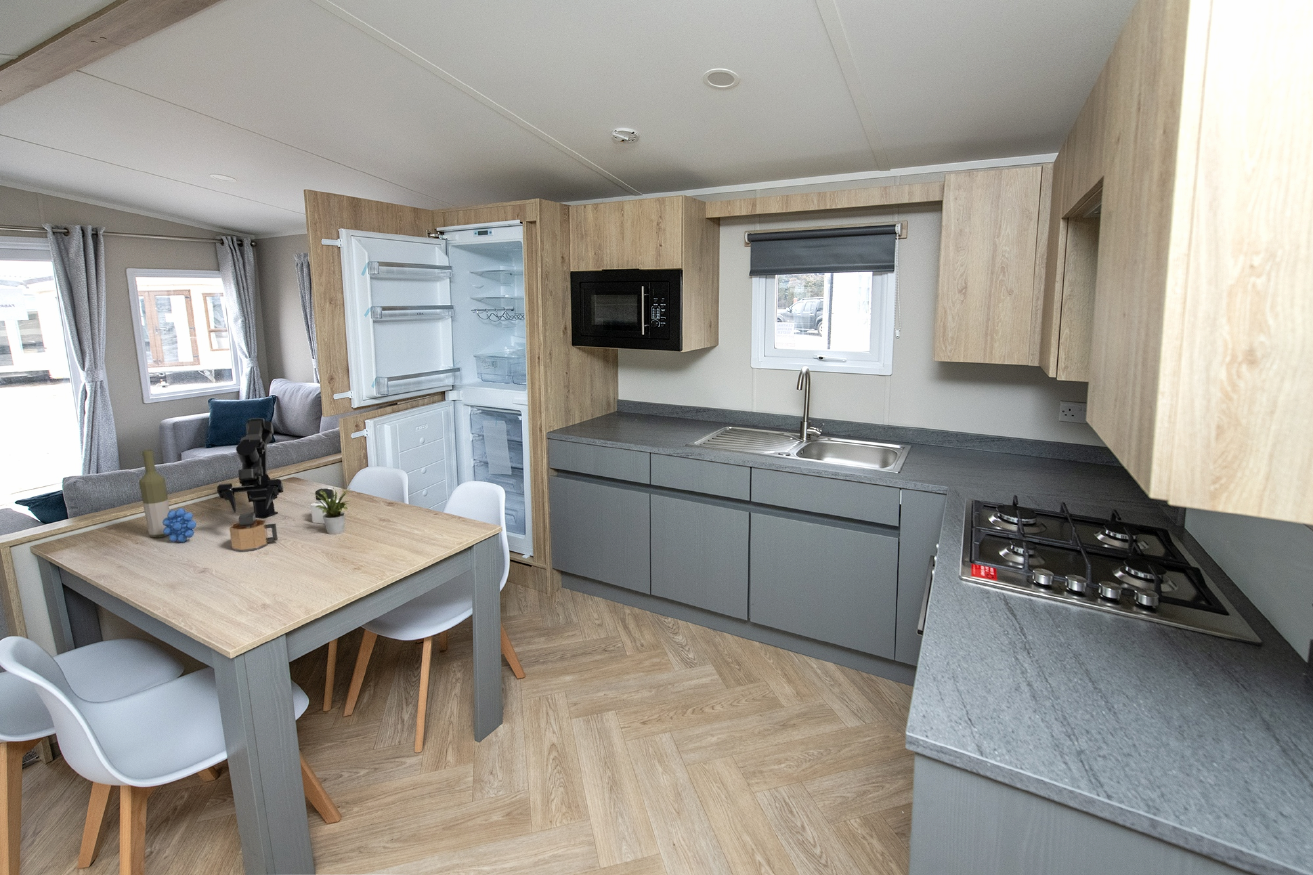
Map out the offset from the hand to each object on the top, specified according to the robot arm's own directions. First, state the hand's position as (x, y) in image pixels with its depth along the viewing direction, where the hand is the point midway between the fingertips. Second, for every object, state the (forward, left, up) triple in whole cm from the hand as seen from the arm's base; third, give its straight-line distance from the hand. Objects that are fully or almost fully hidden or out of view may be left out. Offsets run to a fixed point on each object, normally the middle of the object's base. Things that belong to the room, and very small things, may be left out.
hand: (250, 510), depth 218 cm
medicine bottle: (+10, +22, -10) cm, 26 cm away
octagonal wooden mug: (+6, -5, -10) cm, 13 cm away
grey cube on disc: (+5, -6, -7) cm, 10 cm away
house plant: (+21, +12, -10) cm, 26 cm away
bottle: (-33, -7, -10) cm, 35 cm away
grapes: (-20, -9, -10) cm, 24 cm away
